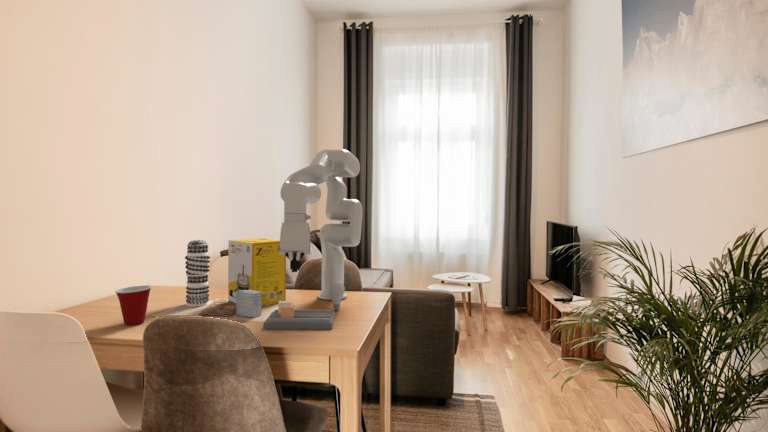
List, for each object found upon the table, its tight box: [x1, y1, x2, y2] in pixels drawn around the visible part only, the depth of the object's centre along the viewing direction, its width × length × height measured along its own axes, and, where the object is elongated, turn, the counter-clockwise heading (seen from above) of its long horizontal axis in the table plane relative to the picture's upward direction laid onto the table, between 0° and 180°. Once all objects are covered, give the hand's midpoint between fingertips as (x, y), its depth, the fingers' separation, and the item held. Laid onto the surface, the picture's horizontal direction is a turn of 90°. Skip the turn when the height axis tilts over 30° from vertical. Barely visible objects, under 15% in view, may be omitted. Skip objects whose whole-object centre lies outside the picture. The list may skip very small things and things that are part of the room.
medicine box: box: [235, 290, 262, 318], centre depth 165 cm, size 8×4×9 cm, turn 65°
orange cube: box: [281, 305, 295, 318], centre depth 152 cm, size 3×4×4 cm
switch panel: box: [263, 309, 336, 330], centre depth 156 cm, size 15×22×3 cm
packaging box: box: [227, 237, 287, 307], centre depth 186 cm, size 16×16×25 cm
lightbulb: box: [329, 281, 346, 311], centre depth 174 cm, size 6×6×11 cm
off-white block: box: [277, 300, 292, 313], centre depth 159 cm, size 3×4×4 cm
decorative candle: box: [184, 239, 211, 308], centre depth 180 cm, size 9×9×25 cm
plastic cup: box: [114, 285, 152, 326], centre depth 152 cm, size 11×11×12 cm
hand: (294, 271), depth 158 cm, fingers closed
